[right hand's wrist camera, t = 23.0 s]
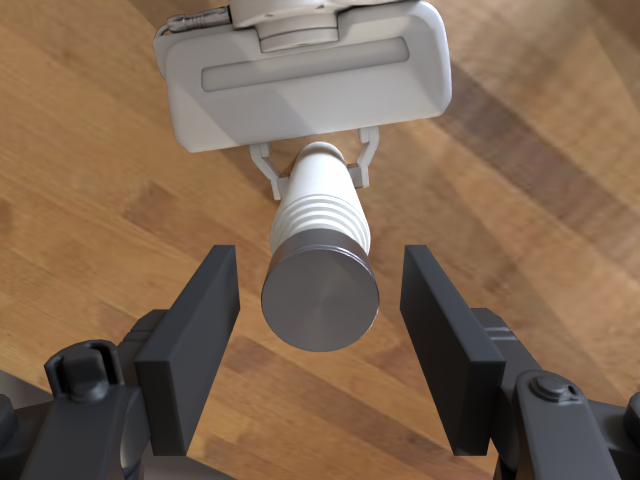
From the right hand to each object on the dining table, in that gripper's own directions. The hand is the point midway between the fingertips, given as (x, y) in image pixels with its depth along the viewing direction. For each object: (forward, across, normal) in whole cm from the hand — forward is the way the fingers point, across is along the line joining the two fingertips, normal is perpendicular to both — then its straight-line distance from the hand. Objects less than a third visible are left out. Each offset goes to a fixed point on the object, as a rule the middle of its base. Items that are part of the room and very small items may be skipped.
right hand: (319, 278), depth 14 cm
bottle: (+23, 0, 0) cm, 23 cm away
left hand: (+17, 0, -1) cm, 17 cm away
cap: (-1, 0, 0) cm, 1 cm away
